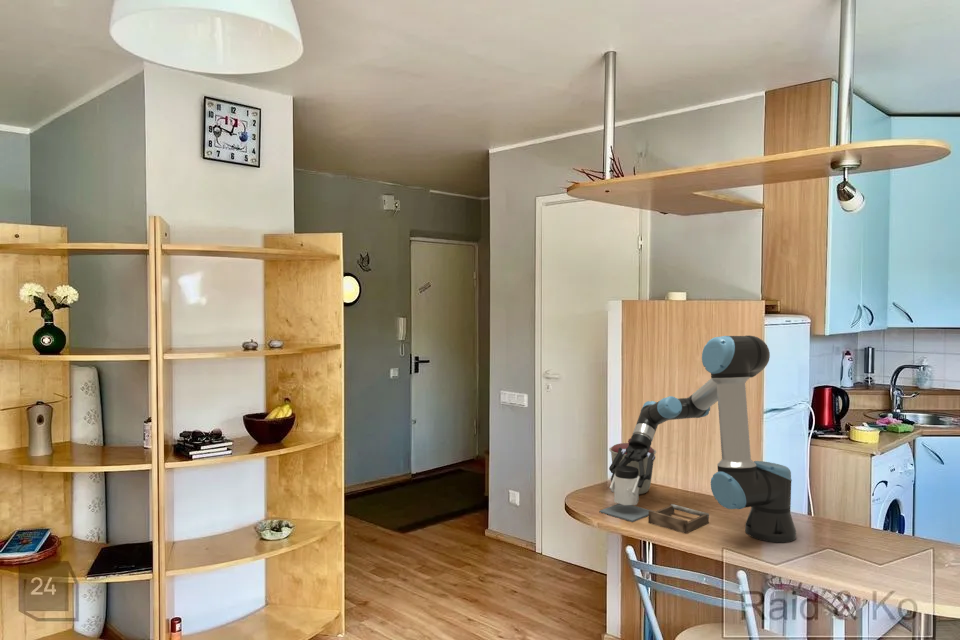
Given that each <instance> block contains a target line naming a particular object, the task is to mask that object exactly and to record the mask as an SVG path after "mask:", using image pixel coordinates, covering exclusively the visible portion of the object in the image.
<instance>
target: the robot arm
mask: <svg viewBox="0 0 960 640" xmlns="http://www.w3.org/2000/svg"><path fill="white" fill-rule="evenodd" d="M770 357H771V355H770V349H769V347H768V345H767V343H766V342H765V341H764V340H763V339H761V338H759V337H757V336H755V335H722V336H721V335H720V336H715V337H713V338H711V339H709V340H708V341H707V343H706V344H705V345H704V347H703V349H702V352H701V362H702V365H703V367H704V369H705V370H706V372H708V373H710V377H711V378H709V380H708V381H706V382H705V383H704V384H702V386H700V387H699V388H698V389H697V390H696V391H695V392H693V393H692V394H691V395H690V396H688V397H682V398H677V397H675V396H673V395H669V396H667V397H663V398H661V399H660V400H659V401H653V400H651V401H650V400H648V401H645V402H644V403H643V405H642V407H641V409H640V413H639V415H638V417H637V421H636V424H635V427H634V429H633V432H632V435H631V440H630V442H629V446H628V447H627V448H626V449H622V448H619V449H618V453H617V455H616V457H615V459H614V460H613V462H612V461H611V464H610V465H609V468H608V469H609V471H610V473H611V477H610V482H611V483H610V486H609V490H610V491H611V492H612V493H614V485H615V468H616V467H618V466H626V465H627V464H628V463H630V462H631V461H636V462H639V470H640V477H639V476H638V477H637V481H636V482H635V485H634V488H633V491H632V493H633V495H634V496H635V497H636V496H637V493H638V490H639V488H641V487H642V486H643V483H644V480H646V479H648V480H650V479H651V480H652V478H651V473H652V474H653V470H652V466H653V467H654V462H655V460H656V454H654V453H649V452H648V451H649V449H650V447H652V442H653V441H654V438H655V434H656V431H657V429H658V426H659V425H660V424H663V423H666V422H667V421H672V420H684V419H685V420H686V419H700V418H704V417H707V416H708V415H709V413H710V412H711V407H712V406H713V405H714V404H716V403H717V407H718V422H719V434H720V436H719V437H720V450H721V460H720V461H719V462H718V463H717V464H716V465H717V472H715V473H714V474H712V477H711V478H710V489H711V493H712V495H713V497H714V498H715V499H714V500H716V501H717V503H718V504H719V505H720V506H721V507H723V508H725V509H728V510H743V509H744V508H750V511H749V513H748V516H747V520H746V522H745V525H744V526H745V528H744V532H745V533H746V535H748V536H749V537H751V538H754V539H757V540H761V541H763V542H765V541H766V542H770V543H791V542H793V541H795V540H796V539H797V530H796V527H795V524H794V523H795V522H794V520H793V516H792V514H791V507H792V506H791V504H792V501H791V500H792V481H793V480H792V471H791V469H790V467H787V466H786V465H784V464H779V463H775V462H771V461H762V460H755V461H753V460H752V458H751V457H752V456H751V445H750V430H749V417H748V402H747V401H748V400H747V390H746V389H747V387H746V384H747V383H746V382H747V381H748V380H749V379H750V378H754V377H755V376H757V375H758V374H760V373H761V372H762V371H763V370H764V369H765V368H766V367H767V365H768V364H769V361H770ZM625 453H627V454H626V455H625V457H624V459H623V460H622V461H621V459H622V457H623V455H624V454H625ZM647 456H648V462H647V468H646V474H645V472H644V461H643V459H645V458H646V457H647ZM620 461H621V462H620ZM653 461H654V462H653ZM790 541H791V542H790Z"/></svg>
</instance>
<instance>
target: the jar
mask: <svg viewBox="0 0 960 640" xmlns="http://www.w3.org/2000/svg"><path fill="white" fill-rule="evenodd" d="M638 476H639V472H638V468H636V467H632V466H618V467H616V468H615V485H614V492H613V494H614V499H613V500H614V501H613V502H614V503H615V504H622V505H633V506H638V503H639V499H640V498H639V495H640V494H639V490H638V493H637V496H636V497H635V496H634V495H633V493H632V491H633V488H634V485H635V482H636V481H637V477H638Z"/></svg>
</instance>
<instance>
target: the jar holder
mask: <svg viewBox="0 0 960 640" xmlns="http://www.w3.org/2000/svg"><path fill="white" fill-rule="evenodd" d="M675 510H676V511H679V512H683V513H688V514H691V515H695V516H697V517H695V518H693V519H691V520H689V521H688V520H686V519H683V518H678V517H675V516H672V515H675ZM654 511H655V512H654ZM647 519H648V524H652V525H655V526H659V527H662V528H666V529H669V530H672V531H676V532H679V533H682V534H688V533H690V532H692V531H694V529H695V530H696V528H697V529H699V528H700V527H702V526H706V525H707V524H709V521H710V520H709V519H710V513H709V512H705V511H700V510H697V509H692V508H688V507H685V506H681V505H677V504H674V503H670V505H668V506H666V507H663V508H660V509H657V510H651V511H649V516H648V518H647Z"/></svg>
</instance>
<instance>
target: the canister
mask: <svg viewBox="0 0 960 640" xmlns="http://www.w3.org/2000/svg"><path fill="white" fill-rule="evenodd" d="M630 440H631V438H629V439H628V441H627V442H623V443H617V444H614V445H612V446H610V447H609V450H608V451H609V452H610V454H611V455H610V456H611V463H612V462H613V460H614V459H615V457H616V455H617V453H618V449H619V448H622V449H626V448H627V447H628V446H629V442H630ZM648 452H649V453H654V455H656V453H657V450H656V449H654V448H653V447H652V446H650V449H649V451H648ZM626 454H627V453H625V454H624V455H623V457H622V459H621V461H622V460H623V459H624V457H625V455H626ZM621 461H620V462H621ZM643 461H644V472H645V474H646V468H647V462H648V456H647V457H646V458H645V459H643ZM654 462H655V460H654V461H653V463H654ZM626 466H632V467H636V468H638V472H639V477H640V470H639V462H636V461H631V462H630V463H628V464H627V465H626ZM653 468H654V465H653V466H652V471H653ZM652 476H653V472H652V473H651V479H650V480H648V479H646V480H644V483H643V486H642V487H641V488H639V495H643V494H645V493H647V492H649V490H650V488H651V483H652Z"/></svg>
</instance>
